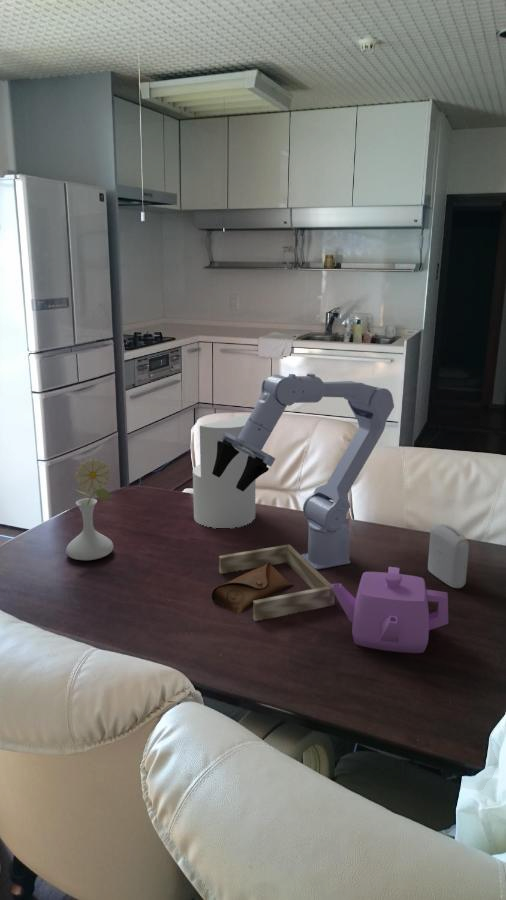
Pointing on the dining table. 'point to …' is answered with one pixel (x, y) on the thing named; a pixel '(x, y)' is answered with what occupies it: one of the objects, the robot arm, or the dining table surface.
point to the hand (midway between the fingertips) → (227, 482)
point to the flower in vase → (90, 512)
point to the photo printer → (448, 555)
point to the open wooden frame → (286, 603)
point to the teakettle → (392, 611)
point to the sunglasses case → (250, 588)
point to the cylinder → (222, 480)
